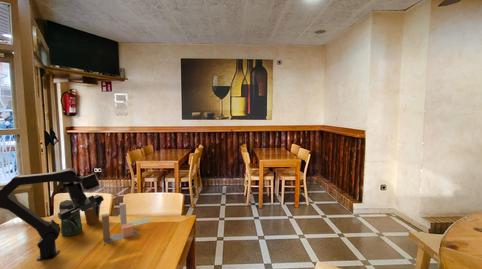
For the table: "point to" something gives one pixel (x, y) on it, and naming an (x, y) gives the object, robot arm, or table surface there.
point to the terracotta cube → (127, 230)
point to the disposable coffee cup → (91, 216)
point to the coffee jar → (67, 225)
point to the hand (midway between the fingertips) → (87, 221)
